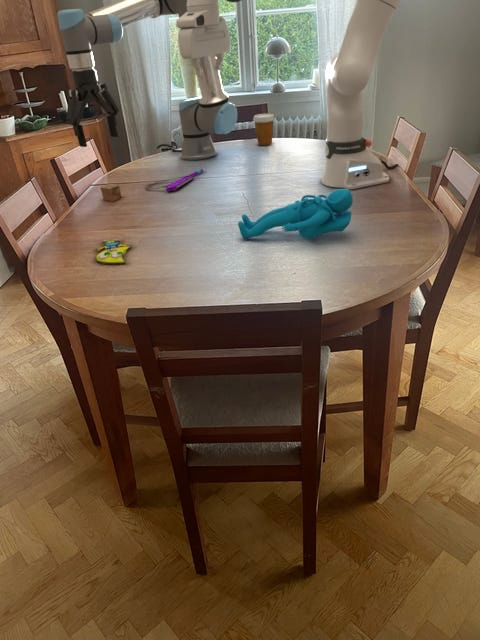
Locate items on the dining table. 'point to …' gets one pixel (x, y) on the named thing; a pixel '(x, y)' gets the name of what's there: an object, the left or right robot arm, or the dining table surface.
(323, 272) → the dining table surface
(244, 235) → the toy
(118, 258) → the toy
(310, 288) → the dining table surface
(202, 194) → the dining table surface
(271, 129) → the beer glass
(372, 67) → the right robot arm
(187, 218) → the dining table surface
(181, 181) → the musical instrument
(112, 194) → the block
